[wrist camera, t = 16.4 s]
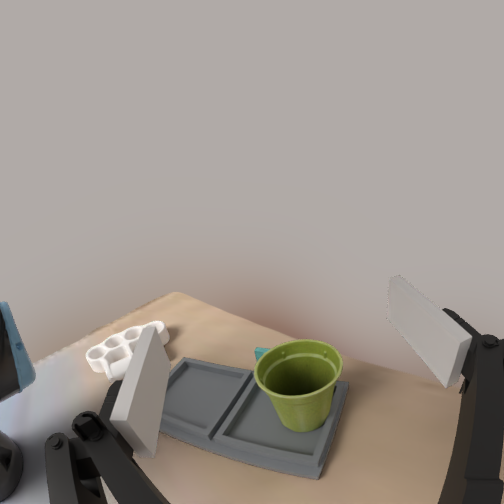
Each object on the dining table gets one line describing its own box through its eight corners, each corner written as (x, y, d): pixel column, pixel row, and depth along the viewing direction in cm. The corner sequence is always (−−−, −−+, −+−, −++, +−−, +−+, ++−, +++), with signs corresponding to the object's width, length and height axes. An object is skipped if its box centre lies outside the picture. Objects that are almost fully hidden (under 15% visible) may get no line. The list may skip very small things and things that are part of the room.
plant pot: (264, 395, 36) (251, 347, 34) (332, 381, 36) (329, 331, 33) (270, 450, 27) (256, 405, 25) (351, 432, 27) (354, 383, 24)
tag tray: (135, 419, 35) (118, 393, 33) (189, 361, 48) (179, 334, 46) (318, 479, 23) (316, 456, 21) (348, 385, 35) (349, 354, 34)
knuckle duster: (98, 395, 41) (90, 356, 53) (185, 355, 50) (161, 325, 62) (90, 381, 40) (83, 343, 52) (179, 341, 49) (156, 312, 61)
